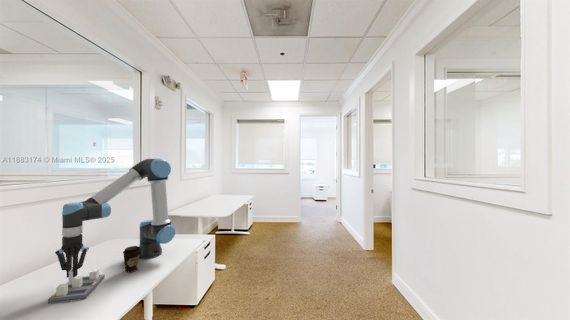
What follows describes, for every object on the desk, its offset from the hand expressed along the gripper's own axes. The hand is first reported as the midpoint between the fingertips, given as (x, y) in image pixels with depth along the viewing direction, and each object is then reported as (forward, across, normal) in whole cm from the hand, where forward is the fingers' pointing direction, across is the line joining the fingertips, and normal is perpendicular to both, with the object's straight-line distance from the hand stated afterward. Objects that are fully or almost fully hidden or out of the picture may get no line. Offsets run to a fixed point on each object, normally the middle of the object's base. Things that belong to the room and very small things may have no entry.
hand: (72, 283), depth 120 cm
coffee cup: (+4, -21, -17) cm, 27 cm away
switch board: (+3, -3, 0) cm, 4 cm away
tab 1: (+2, 0, +7) cm, 7 cm away
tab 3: (+2, -6, -7) cm, 10 cm away
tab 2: (+2, -2, 0) cm, 3 cm away
